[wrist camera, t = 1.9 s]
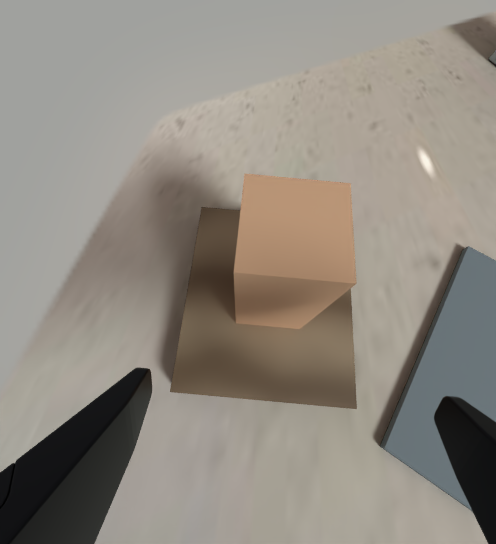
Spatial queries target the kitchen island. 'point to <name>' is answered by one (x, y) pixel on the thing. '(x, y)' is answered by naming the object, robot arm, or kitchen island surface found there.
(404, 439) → the slate grey mat
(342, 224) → the terracotta block
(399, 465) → the kitchen island surface
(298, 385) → the plate
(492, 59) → the coffee box
